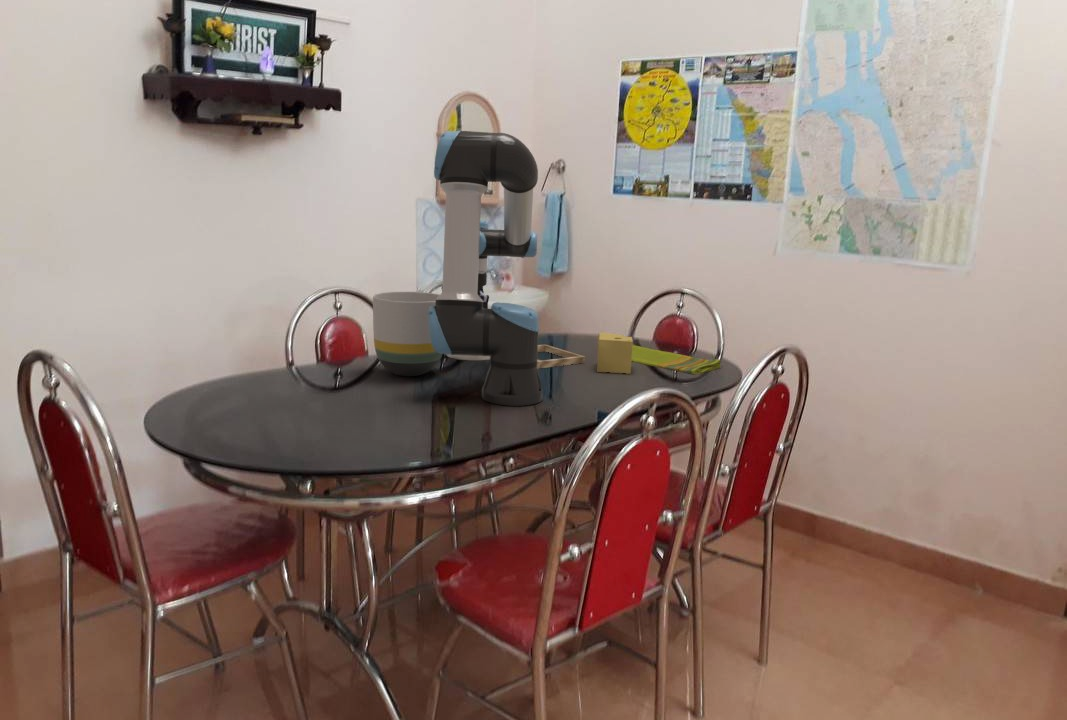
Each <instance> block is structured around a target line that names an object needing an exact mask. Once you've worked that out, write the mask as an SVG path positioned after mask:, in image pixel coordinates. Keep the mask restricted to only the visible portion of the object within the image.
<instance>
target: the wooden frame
mask: <svg viewBox="0 0 1067 720" xmlns="http://www.w3.org/2000/svg"><path fill="white" fill-rule="evenodd" d="M542 352H545V353H548V352H549V354H551V353H552V354H551V355H554V354H555V356H557V355H558V357H560V358H552V359H544V360H542V361H537V370H539V369H546V368H554V367H555V366H556V367H563V365H564V366H570V365H571V364H573V365H578V364H579V363H581V364H585V363H586V356H585V355H581V354H577V353H575V352H572V351H568V350H564V349H563V348H562V349H561V348H558V347H556V346H552V345H548V344H538V352H537V353H542ZM561 356H562V357H561ZM571 366H572V365H571Z"/></svg>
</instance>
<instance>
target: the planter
mask: <svg viewBox="0 0 1067 720" xmlns="http://www.w3.org/2000/svg"><path fill="white" fill-rule="evenodd" d="M440 294H441V293H440ZM440 294H439V293H433V292H425V291H388V292H380V293H375V294H374V295H373V297H372V327H373V344H374V350H375V351H374V352H375V354H376V357H377V360H378V361H379V363H380V364H381V365H382V366H383V367H384V369H386V370H387V371H389V372H391V373H392V374H395V375H398V376H402V377H415V376H416V377H418V376H422V375H425V374H426V373H429V372H430V371H431V370H433V368H435V367H436V366H437V365H438V364H439V362H440V361H441V358H442V356H443V354H440V353H437V352H436V351H435V350H434V349H433V346H432V343H431V337H430V329H429V308H430V307H431V306H435V304H436V298H437V297H438V296H439V295H440Z"/></svg>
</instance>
